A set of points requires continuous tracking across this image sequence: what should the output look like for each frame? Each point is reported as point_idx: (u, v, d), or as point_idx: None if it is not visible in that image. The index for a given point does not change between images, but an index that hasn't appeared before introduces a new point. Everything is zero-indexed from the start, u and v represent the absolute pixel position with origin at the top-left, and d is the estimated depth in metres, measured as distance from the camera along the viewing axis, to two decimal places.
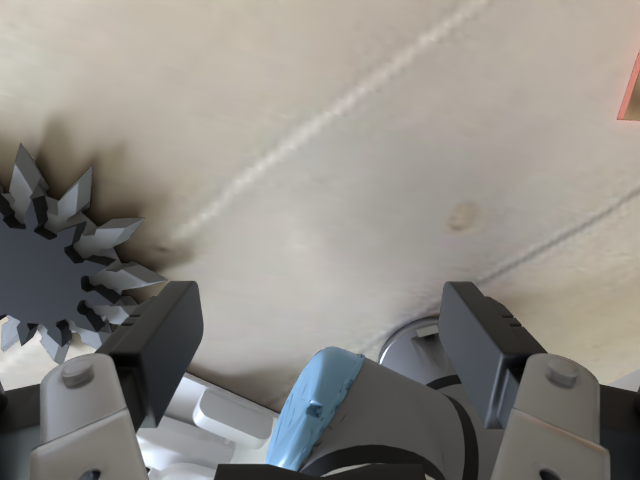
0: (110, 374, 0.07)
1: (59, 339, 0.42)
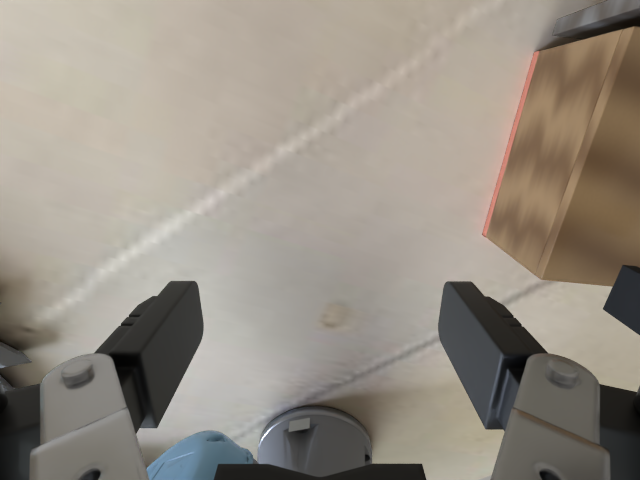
0: (110, 374, 0.07)
1: None
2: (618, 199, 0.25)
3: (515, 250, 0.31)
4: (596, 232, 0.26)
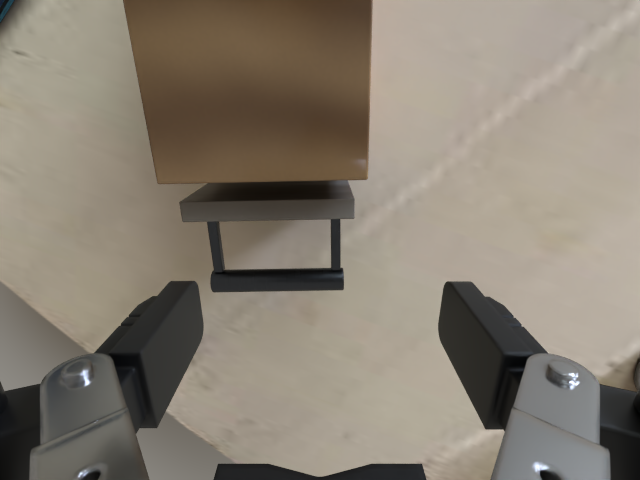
0: (110, 374, 0.07)
1: None
2: None
3: None
4: None
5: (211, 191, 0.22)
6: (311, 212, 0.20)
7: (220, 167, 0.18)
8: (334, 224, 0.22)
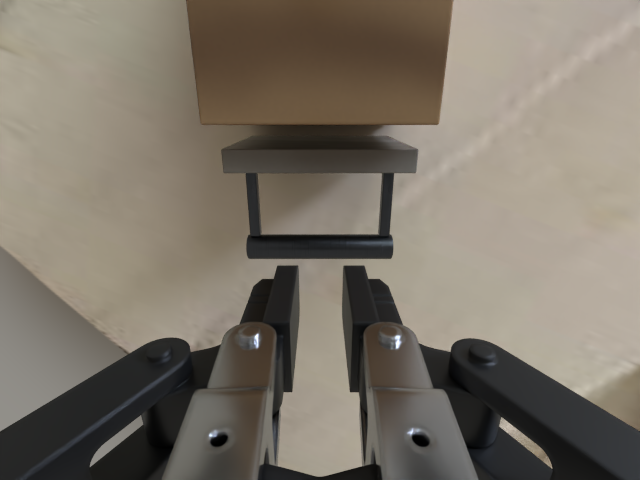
0: (270, 347, 0.08)
1: None
2: None
3: None
4: None
5: (251, 143, 0.20)
6: (369, 164, 0.18)
7: (273, 106, 0.16)
8: (386, 183, 0.20)
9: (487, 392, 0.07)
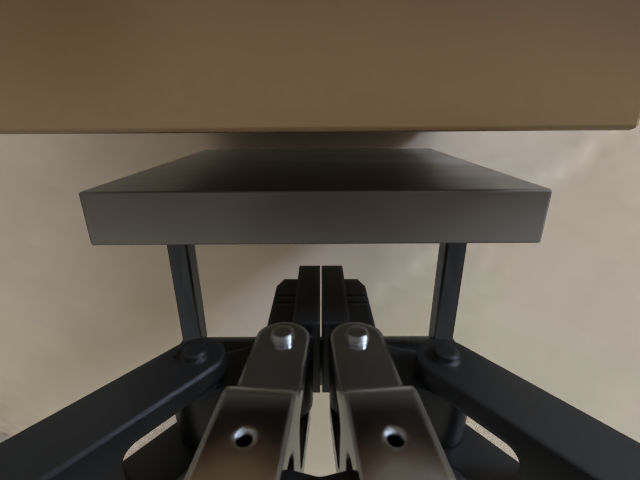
0: (302, 349, 0.07)
1: None
2: None
3: None
4: None
5: (176, 171, 0.10)
6: (431, 225, 0.07)
7: (183, 80, 0.06)
8: (453, 250, 0.10)
9: (448, 392, 0.07)
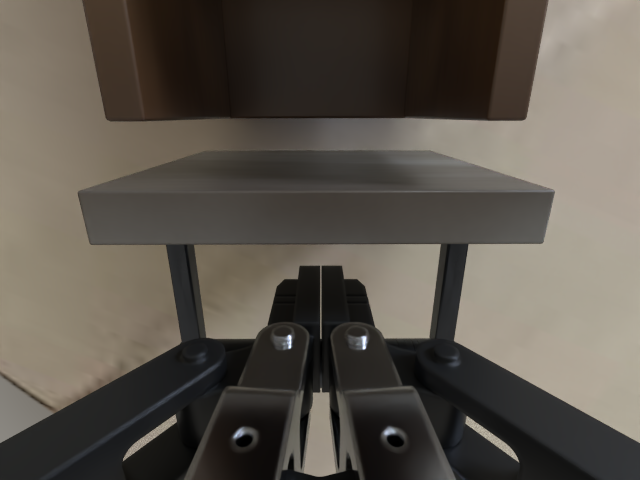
0: (302, 350, 0.07)
1: None
2: None
3: None
4: None
5: (176, 171, 0.10)
6: (433, 225, 0.07)
7: None
8: (454, 251, 0.10)
9: (448, 392, 0.07)
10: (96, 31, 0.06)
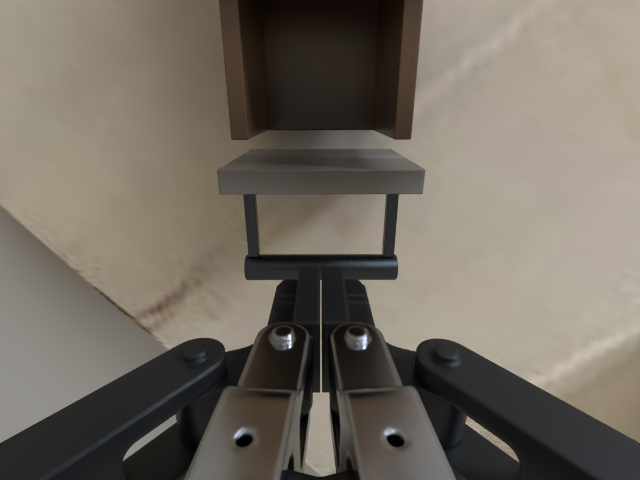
0: (302, 349, 0.07)
1: None
2: None
3: None
4: None
5: (249, 161, 0.19)
6: (373, 185, 0.17)
7: None
8: (391, 202, 0.19)
9: (448, 392, 0.07)
10: (231, 103, 0.16)
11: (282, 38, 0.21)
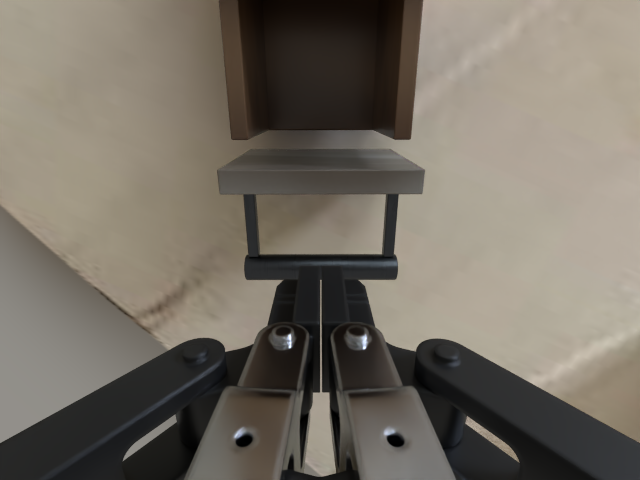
0: (302, 349, 0.07)
1: None
2: None
3: None
4: None
5: (249, 161, 0.19)
6: (372, 185, 0.17)
7: None
8: (391, 203, 0.19)
9: (448, 392, 0.07)
10: (231, 103, 0.16)
11: (282, 38, 0.21)
